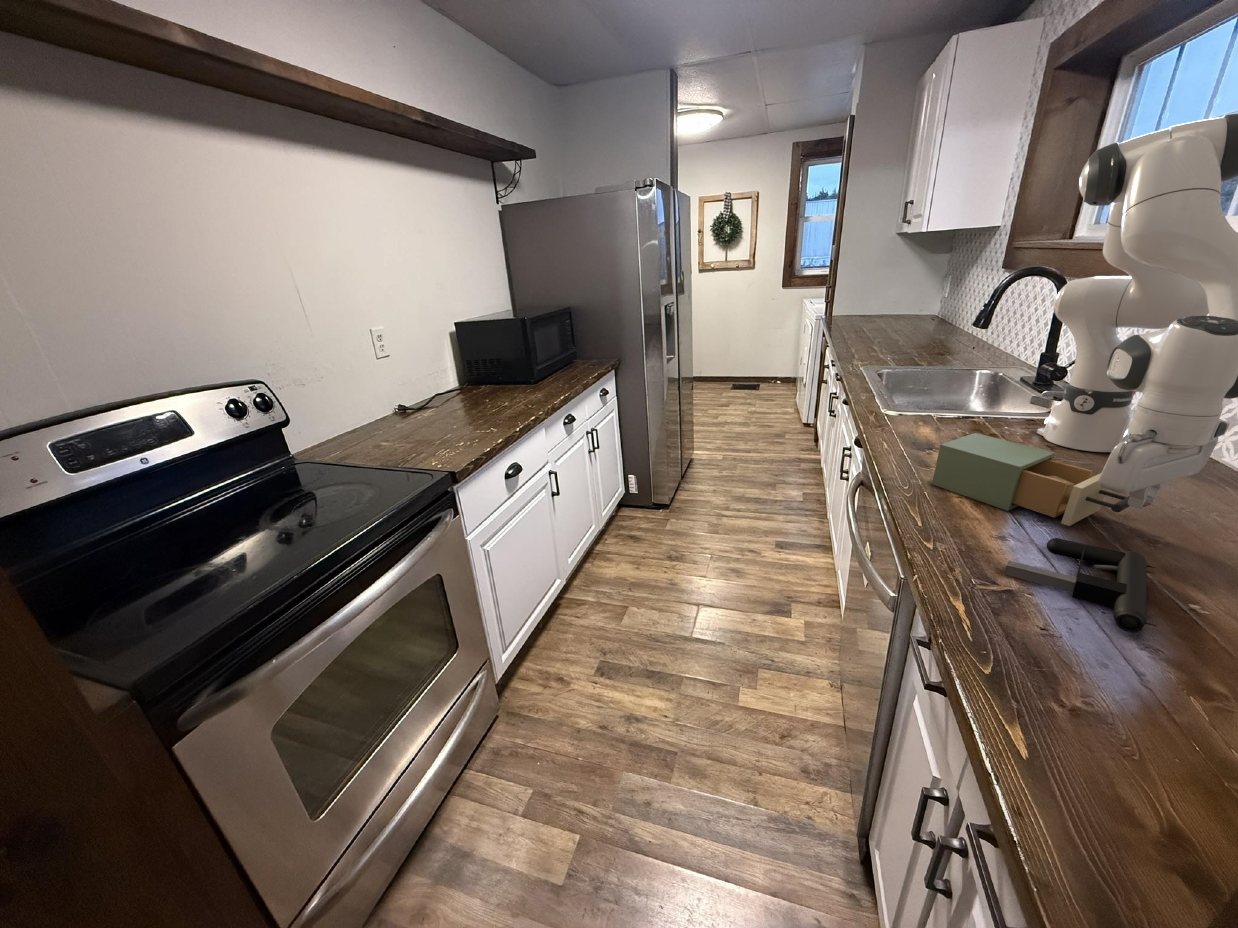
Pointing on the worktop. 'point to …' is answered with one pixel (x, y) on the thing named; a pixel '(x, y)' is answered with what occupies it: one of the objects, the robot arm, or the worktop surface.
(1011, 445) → the cabinet
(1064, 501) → the block
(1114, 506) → the drawer
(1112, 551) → the door handle
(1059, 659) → the worktop surface
